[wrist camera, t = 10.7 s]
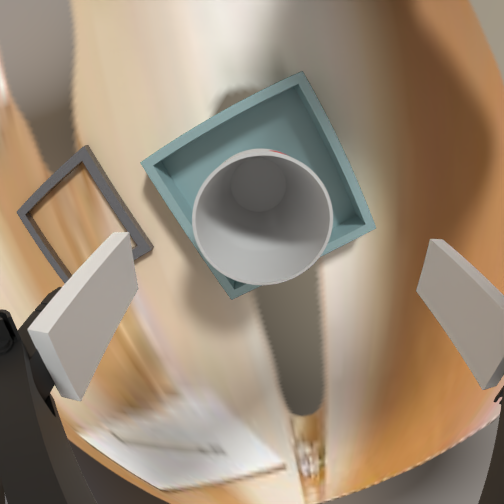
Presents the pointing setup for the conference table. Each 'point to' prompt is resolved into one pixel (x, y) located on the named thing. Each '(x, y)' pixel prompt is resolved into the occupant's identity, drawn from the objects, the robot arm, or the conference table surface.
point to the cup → (262, 217)
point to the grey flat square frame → (108, 192)
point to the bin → (263, 137)
